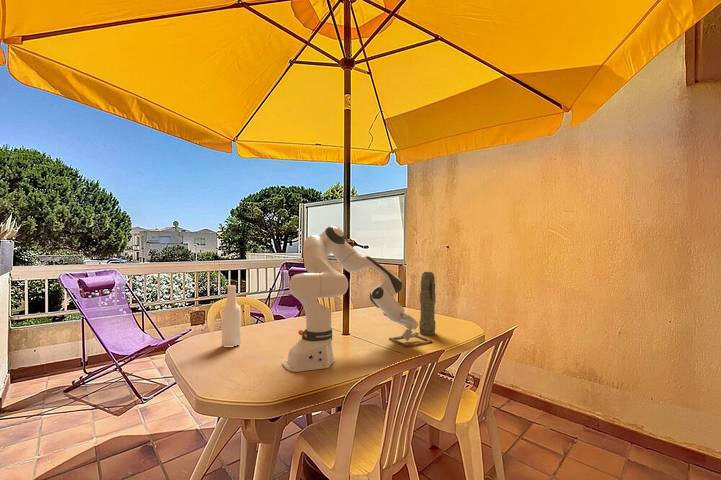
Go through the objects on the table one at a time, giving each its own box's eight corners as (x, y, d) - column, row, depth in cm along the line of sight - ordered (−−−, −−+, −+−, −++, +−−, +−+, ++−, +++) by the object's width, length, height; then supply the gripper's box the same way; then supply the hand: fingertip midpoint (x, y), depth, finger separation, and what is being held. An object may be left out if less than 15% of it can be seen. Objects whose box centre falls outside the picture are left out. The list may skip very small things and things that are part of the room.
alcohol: (220, 349, 166) (220, 287, 166) (223, 343, 175) (223, 284, 175) (239, 347, 168) (239, 286, 168) (241, 342, 177) (242, 284, 177)
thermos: (428, 337, 189) (429, 273, 189) (414, 331, 199) (415, 271, 199) (440, 334, 194) (441, 272, 194) (426, 329, 204) (426, 271, 204)
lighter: (403, 335, 178) (413, 324, 181) (401, 335, 180) (411, 323, 183) (410, 344, 181) (419, 333, 184) (408, 344, 182) (417, 332, 185)
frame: (406, 347, 171) (406, 345, 171) (389, 339, 184) (389, 338, 184) (432, 342, 179) (432, 340, 179) (413, 335, 192) (413, 333, 192)
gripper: (411, 311, 169) (426, 328, 174) (387, 303, 186) (401, 319, 192) (404, 321, 167) (420, 338, 172) (380, 312, 184) (395, 328, 189)
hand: (410, 328), depth 182 cm, fingers closed, pressing on lighter
